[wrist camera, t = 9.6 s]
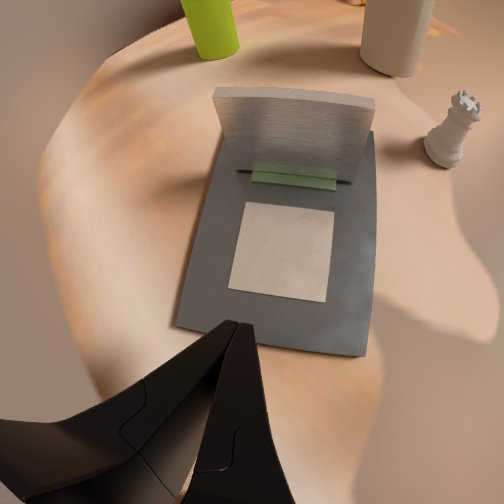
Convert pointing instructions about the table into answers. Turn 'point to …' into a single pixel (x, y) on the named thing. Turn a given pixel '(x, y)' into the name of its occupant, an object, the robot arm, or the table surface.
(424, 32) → the travel mug
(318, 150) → the grey bracket
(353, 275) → the base
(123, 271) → the table surface
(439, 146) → the rook chess piece
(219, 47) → the soap dispenser
